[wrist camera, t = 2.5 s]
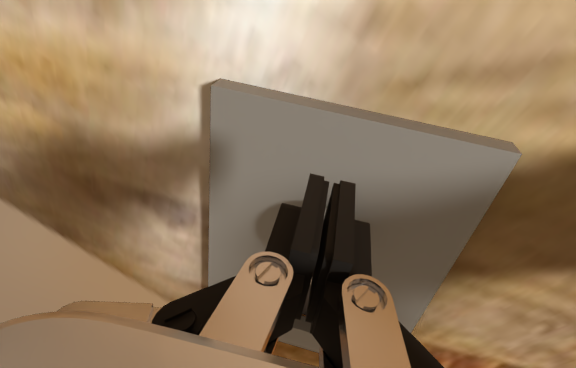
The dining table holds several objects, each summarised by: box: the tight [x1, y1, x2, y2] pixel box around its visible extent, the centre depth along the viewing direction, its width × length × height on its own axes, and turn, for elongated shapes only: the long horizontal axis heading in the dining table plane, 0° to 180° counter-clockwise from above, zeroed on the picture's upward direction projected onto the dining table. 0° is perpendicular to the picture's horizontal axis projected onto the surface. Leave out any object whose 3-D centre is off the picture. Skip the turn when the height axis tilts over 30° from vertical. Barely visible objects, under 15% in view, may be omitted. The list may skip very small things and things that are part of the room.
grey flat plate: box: [208, 79, 522, 353], centre depth 26 cm, size 18×24×2 cm
